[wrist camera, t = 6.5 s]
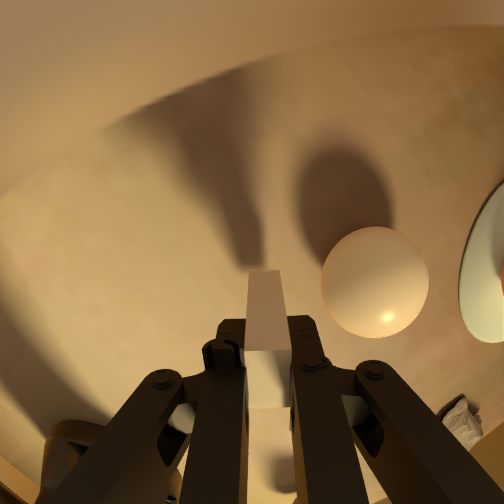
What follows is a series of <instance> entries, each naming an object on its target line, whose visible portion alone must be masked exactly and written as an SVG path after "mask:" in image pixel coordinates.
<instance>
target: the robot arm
mask: <svg viewBox="0 0 504 504" xmlns="http://www.w3.org/2000/svg"><path fill="white" fill-rule="evenodd" d="M202 354H203V360H204V366H205V371H203V372H201V373H199V374H197V375H193V376H189V377H184V378H182V377H181V375H180V374H179V373H178V372H177V371H174V370H171V369H161V370H156V371H154V372H151V373H150V374H149V375H147V376H146V377H145V378H144V380H143V381H142V382H141V383H140V385H139V386H138V387H137V388H136V390H135V391H134V392H133V393H132V395H131V396H130V397H129V398H128V400H127V401H126V402H125V403H124V405H123V406H122V407H121V408H120V410H119V411H118V412H117V413H116V415H115V416H114V417H113V418H112V420H111V421H110V422H109V423H108V425H107V426H106V427H105V428H104V427H101V426H97V425H93V424H89V423H84V422H77V421H67V422H62V423H59V424H57V425H56V426H55V427H54V428H53V430H52V431H51V433H50V435H49V437H48V438H47V440H46V443H45V446H44V454H43V462H42V473H41V485H40V492H39V495H38V497H37V499H36V502H35V504H247V481H248V445H249V411H248V409H256V408H283V407H291V410H290V430H291V432H292V443H293V454H294V465H295V477H296V489H297V501H298V504H369V500H368V496H367V492H366V488H365V484H364V480H363V476H362V472H361V468H360V464H359V460H358V456H357V452H356V448H355V444H356V446H357V448H358V449H359V451H360V453H361V454H362V456H363V457H364V459H365V461H366V462H367V464H368V465H369V467H370V469H371V470H372V472H373V474H374V475H375V477H376V478H377V480H378V482H379V483H380V485H381V486H382V488H383V490H384V491H385V493H386V494H387V496H388V498H389V499H390V501H391V502H392V504H504V492H503V491H502V490H501V489H500V488H499V486H498V485H497V484H496V483H495V482H494V481H493V480H492V478H491V477H490V476H489V475H488V474H487V472H485V470H484V469H483V468H482V467H481V466H480V464H479V463H478V462H477V461H476V460H475V459H474V458H473V456H472V455H471V454H470V453H469V452H468V451H467V450H466V449H465V447H464V446H463V445H462V444H461V443H460V442H459V441H458V439H457V438H456V437H455V436H454V435H453V434H452V433H451V432H450V431H449V429H448V428H447V427H446V426H445V425H444V424H443V423H442V422H441V421H440V419H439V418H438V417H437V416H436V415H435V414H434V413H433V412H432V411H431V409H430V408H429V407H428V406H427V405H426V404H425V403H424V402H423V401H422V400H421V398H420V397H419V396H418V395H417V394H416V393H415V392H414V391H413V390H412V389H411V388H410V386H409V385H408V384H407V383H406V382H405V381H404V380H403V379H402V378H401V377H400V376H399V375H398V373H397V372H396V371H395V370H394V369H393V368H392V367H391V366H390V365H388V364H387V363H385V362H382V361H379V360H368V361H364V362H362V363H360V364H359V365H358V366H357V367H356V370H349V369H342V368H338V367H336V366H333V365H332V363H331V362H330V360H329V359H328V358H327V357H325V355H324V351H323V348H322V344H321V341H320V337H319V334H318V331H317V327H316V324H315V321H314V320H313V319H312V318H311V317H310V316H309V315H299V316H287V315H286V309H285V303H284V296H283V290H282V284H281V278H280V272H279V270H272V271H249V280H248V296H247V312H246V319H224V320H223V321H222V322H221V323H220V324H219V325H218V329H217V334H216V339H213V340H210V341H209V342H207V343H206V344H204V346H203V348H202ZM354 443H355V444H354ZM189 444H190V445H189ZM188 446H189V450H188V455H187V460H186V465H185V471H184V476H183V480H182V477H181V475H180V474H179V472H178V471H177V470H176V468H177V466H178V465H179V463H180V461H181V459H182V457H183V455H184V453H185V452H186V450H187V448H188ZM0 504H28V503H27V502H25V501H24V500H23V499H22V498H20V497H19V496H18V495H17V494H15V493H14V492H13V491H12V490H10V489H9V488H8V487H7V486H6V485H4V484H3V483H2V482H1V481H0Z"/></svg>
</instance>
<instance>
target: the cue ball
mask: <svg viewBox="0 0 504 504" xmlns="http://www.w3.org/2000/svg"><path fill="white" fill-rule="evenodd" d="M428 286H429V278H428V270H427V266H426V263H425V260H424V258H423V256H422V254H421V252H420V251H419V249H418V248H417V246H416V245H415V244H414V243H413V242H412V241H411V240H410V239H409V238H408V237H406V236H405V235H403V234H402V233H400V232H398V231H395V230H393V229H390V228H385V227H366V228H362V229H359V230H356V231H353V232H352V233H350V234H348V235H346V236H345V237H344V238H342V239H341V240H340V241H339V242H338V243H337V244H336V245H335V246H334V248H333V249H332V250H331V252H330V253H329V255H328V257H327V259H326V261H325V263H324V267H323V270H322V276H321V291H322V296H323V300H324V303H325V305H326V308H327V310H328V312H329V313H330V315H331V316H332V317H333V319H334V320H335V321H336V322H337V323H338V324H339V325H340V326H341V327H343V328H344V329H345V330H347V331H349V332H350V333H353V334H355V335H358V336H362V337H367V338H382V337H386V336H390V335H393V334H395V333H397V332H399V331H401V330H402V329H404V328H405V327H407V326H408V325H409V324H410V323H411V322H412V321H413V320H414V319H415V318H416V317H417V315H418V314H419V313H420V311H421V309H422V307H423V305H424V303H425V300H426V296H427V293H428Z"/></svg>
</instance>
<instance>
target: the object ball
mask: <svg viewBox="0 0 504 504" xmlns="http://www.w3.org/2000/svg"><path fill="white" fill-rule="evenodd" d="M501 285H502V291H503V295H504V267H503V270H502V278H501Z"/></svg>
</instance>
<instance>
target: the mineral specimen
mask: <svg viewBox="0 0 504 504" xmlns="http://www.w3.org/2000/svg"><path fill="white" fill-rule="evenodd" d="M467 407H468V403H467V400H466V399H465V398H462V399H461V400H459V402H458V403H457V404H456V405H455V407H454V408H453V409H452V410H450V411H448V413H447V414H446V416H445V417H444V418H443V420H442V423H443V424H444V425H445V426H446V427H447V428H448V429H449V431H450V432H451V433H452V434H453V435H454V436H455V437H456V438H457V439H458V441H459V442H460V443H461V444H462V445H463V446H464V447H465V449H466V450H467V451H469V450H470V449H471V448H472V447H473V446H474V444H475V443H476V442H478V441H479V439H480V438H482V436H483V431H482V428H481V424H482V419H481V417H480V416H479V415H475V416H472V414H471V413H470V412H469V410H468V408H467Z"/></svg>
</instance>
